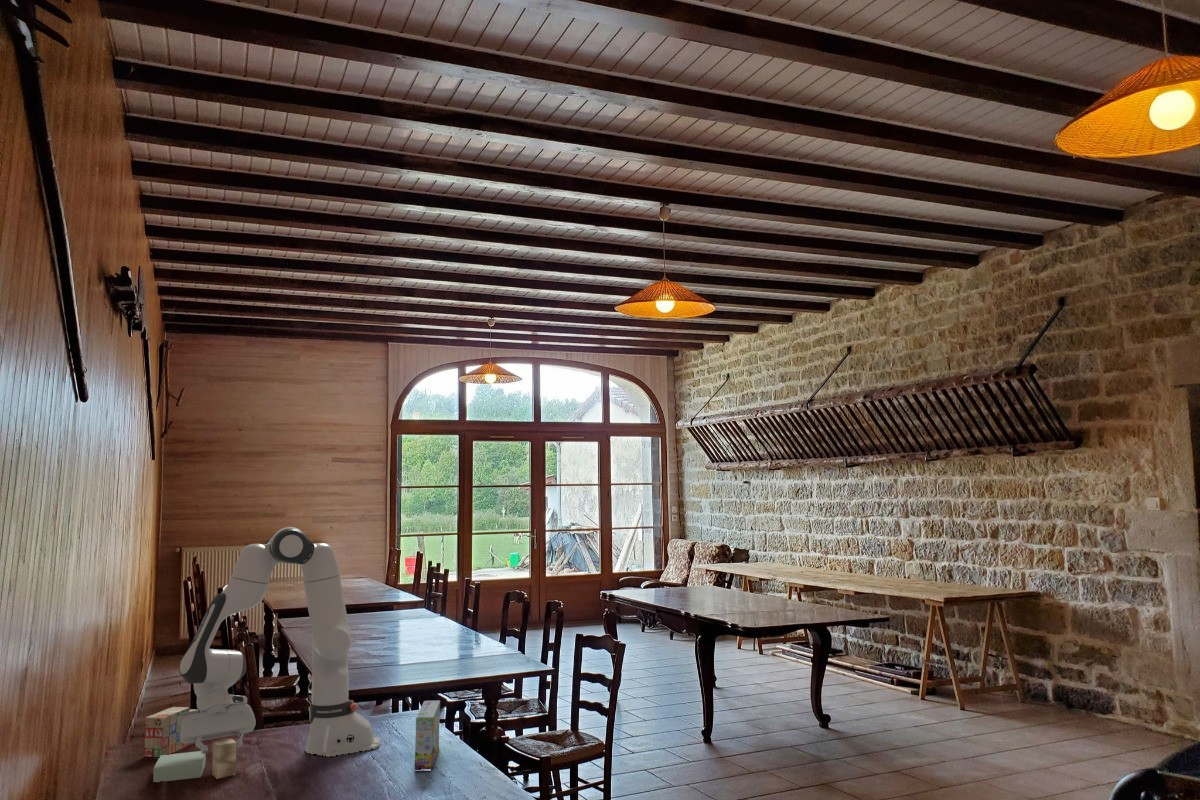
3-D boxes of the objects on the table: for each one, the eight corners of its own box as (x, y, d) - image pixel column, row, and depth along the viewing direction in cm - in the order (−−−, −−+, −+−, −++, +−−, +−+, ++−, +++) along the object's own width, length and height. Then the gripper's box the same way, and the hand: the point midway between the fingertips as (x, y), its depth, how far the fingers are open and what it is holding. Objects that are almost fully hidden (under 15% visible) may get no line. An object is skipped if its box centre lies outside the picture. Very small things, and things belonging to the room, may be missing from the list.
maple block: (230, 770, 241) (231, 738, 242) (235, 774, 238) (236, 742, 239) (211, 774, 238) (213, 741, 239) (216, 778, 235) (217, 745, 236)
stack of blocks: (190, 738, 276) (191, 699, 277) (207, 738, 275) (208, 700, 276) (143, 758, 255) (145, 716, 256) (161, 759, 254) (163, 717, 255)
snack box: (433, 771, 237) (434, 717, 239) (413, 772, 237) (414, 717, 239) (440, 749, 258) (440, 699, 260) (422, 750, 258) (422, 699, 259)
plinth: (205, 764, 247) (205, 750, 248) (200, 777, 236) (201, 762, 236) (160, 769, 243) (160, 755, 244) (153, 782, 232) (153, 767, 233)
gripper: (178, 707, 240) (185, 750, 232) (252, 695, 253) (261, 736, 245) (174, 720, 243) (180, 763, 235) (247, 708, 256) (255, 748, 248)
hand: (222, 749), depth 240 cm, fingers open, 8 cm apart
